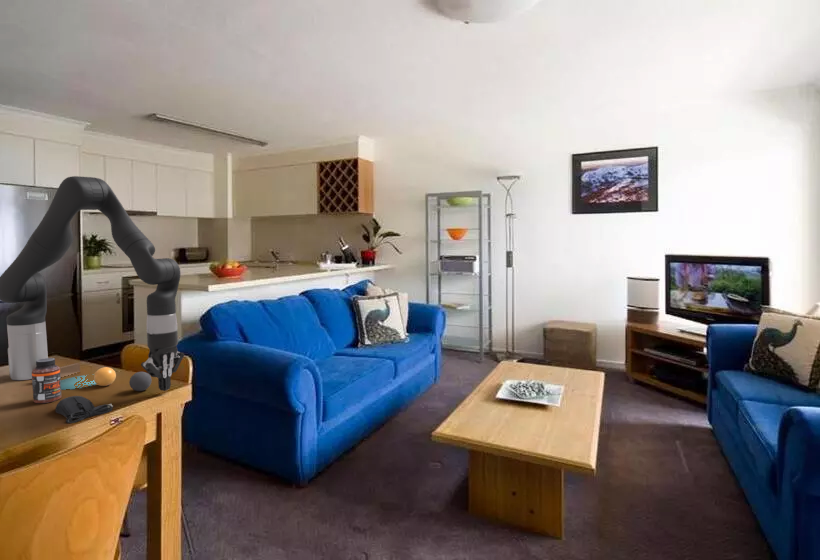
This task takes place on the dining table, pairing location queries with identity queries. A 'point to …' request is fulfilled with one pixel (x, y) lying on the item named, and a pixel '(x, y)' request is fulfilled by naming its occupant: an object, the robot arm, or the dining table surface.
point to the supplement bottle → (46, 381)
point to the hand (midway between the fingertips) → (164, 389)
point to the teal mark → (70, 382)
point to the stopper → (69, 369)
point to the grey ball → (140, 381)
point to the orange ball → (104, 376)
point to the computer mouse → (80, 408)
